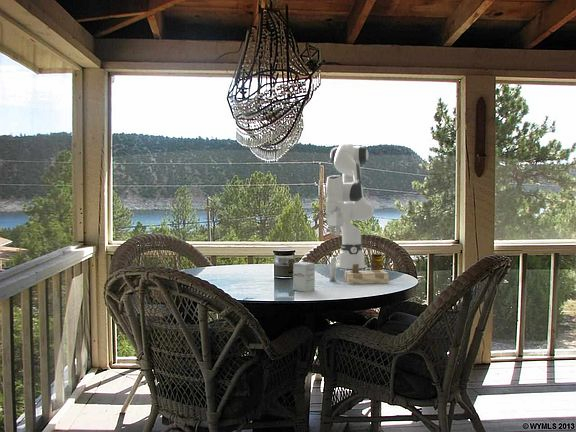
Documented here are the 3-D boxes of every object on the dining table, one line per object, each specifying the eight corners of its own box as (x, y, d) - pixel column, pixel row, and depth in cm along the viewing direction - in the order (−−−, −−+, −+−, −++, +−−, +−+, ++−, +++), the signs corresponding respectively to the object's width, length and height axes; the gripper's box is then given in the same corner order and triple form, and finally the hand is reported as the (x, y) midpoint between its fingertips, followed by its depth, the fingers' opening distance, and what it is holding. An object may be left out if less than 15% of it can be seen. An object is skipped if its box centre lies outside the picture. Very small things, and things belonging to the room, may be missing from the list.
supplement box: (292, 290, 251) (292, 263, 251) (302, 288, 257) (302, 261, 256) (305, 292, 246) (305, 264, 246) (315, 289, 252) (315, 262, 252)
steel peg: (329, 280, 278) (329, 257, 277) (335, 280, 278) (335, 257, 278) (330, 281, 275) (330, 257, 274) (336, 281, 275) (336, 257, 275)
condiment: (385, 276, 290) (386, 254, 289) (373, 278, 285) (374, 255, 284) (376, 275, 296) (376, 253, 295) (364, 276, 291) (364, 254, 290)
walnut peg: (351, 281, 274) (351, 263, 274) (357, 281, 274) (357, 263, 274) (353, 282, 271) (353, 264, 271) (359, 282, 271) (359, 264, 271)
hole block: (344, 280, 277) (344, 271, 276) (383, 280, 279) (383, 270, 279) (348, 283, 268) (348, 273, 268) (388, 283, 270) (388, 273, 270)
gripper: (346, 207, 265) (346, 235, 266) (336, 207, 286) (336, 233, 286) (333, 207, 264) (333, 236, 265) (324, 207, 285) (324, 233, 285)
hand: (335, 234), depth 275 cm, fingers open, 8 cm apart
